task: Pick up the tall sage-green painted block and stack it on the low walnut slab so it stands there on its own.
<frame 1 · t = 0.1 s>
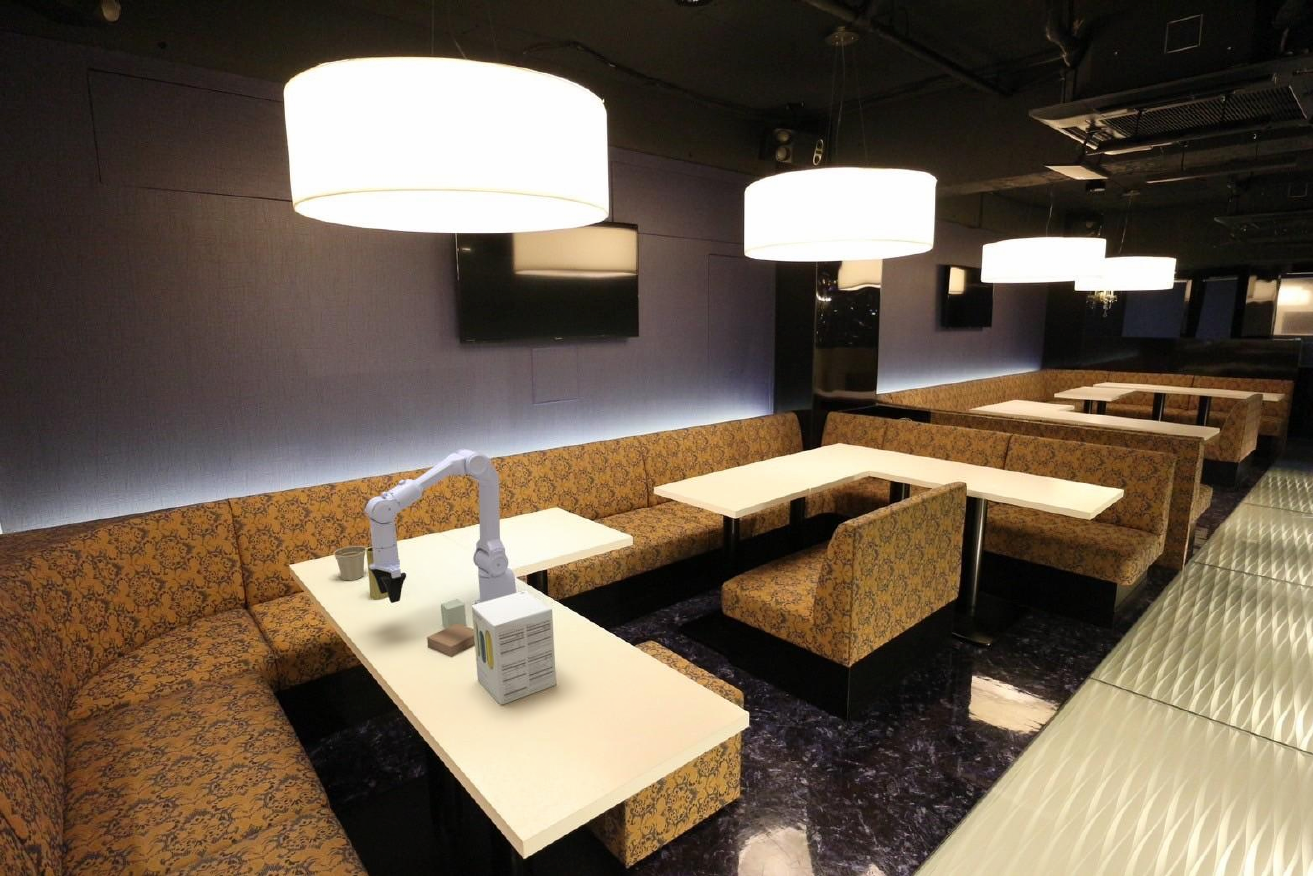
hand: (390, 597, 167), 10 cm above the table, fingers open, 7 cm apart
sage block: (454, 626, 173), on the table
supplement box: (516, 683, 145), on the table
vase: (381, 596, 194), on the table
walnut slab: (455, 646, 163), on the table
flower pot: (353, 577, 209), on the table
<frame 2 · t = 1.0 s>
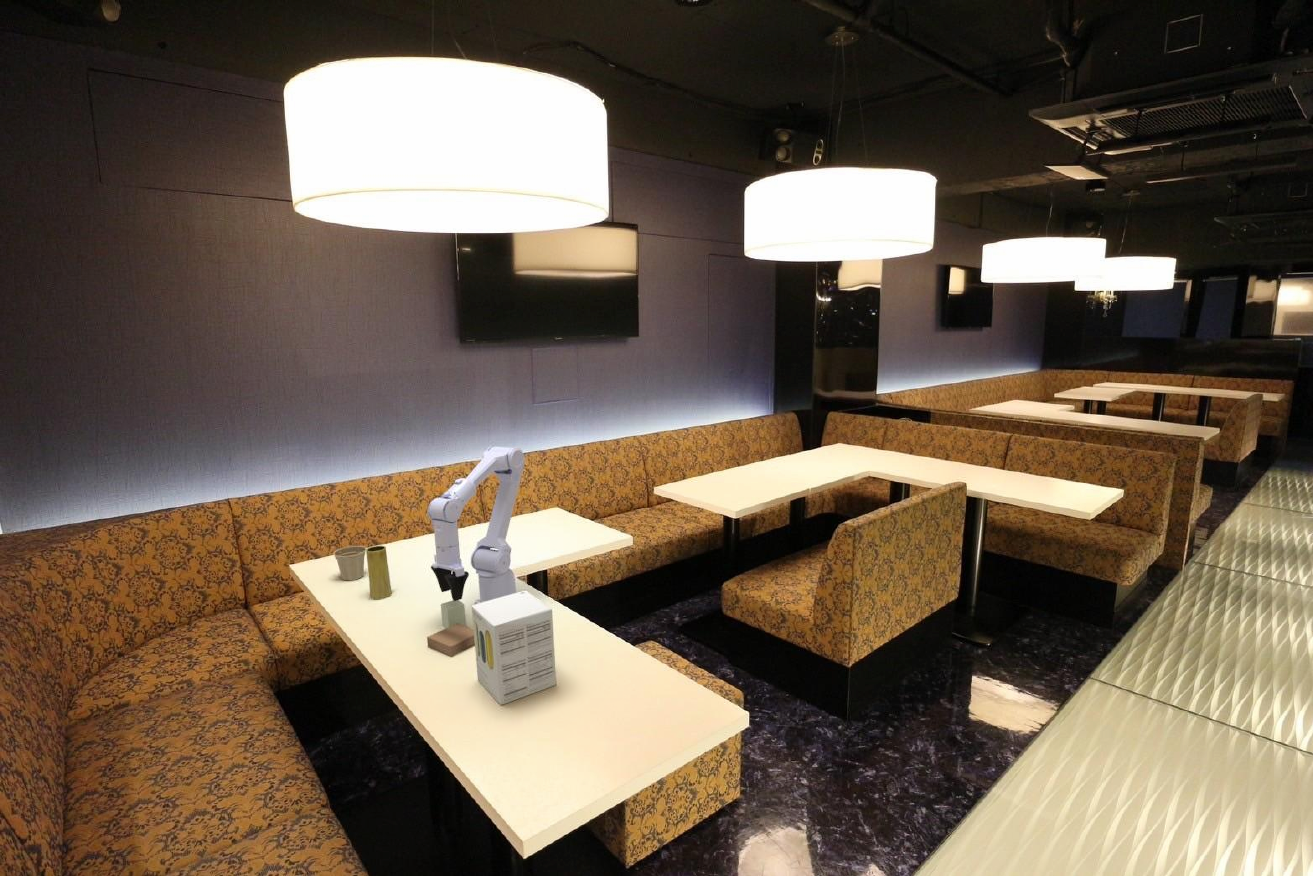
hand: (451, 595, 171), 8 cm above the table, fingers open, 7 cm apart
nothing on the table moved.
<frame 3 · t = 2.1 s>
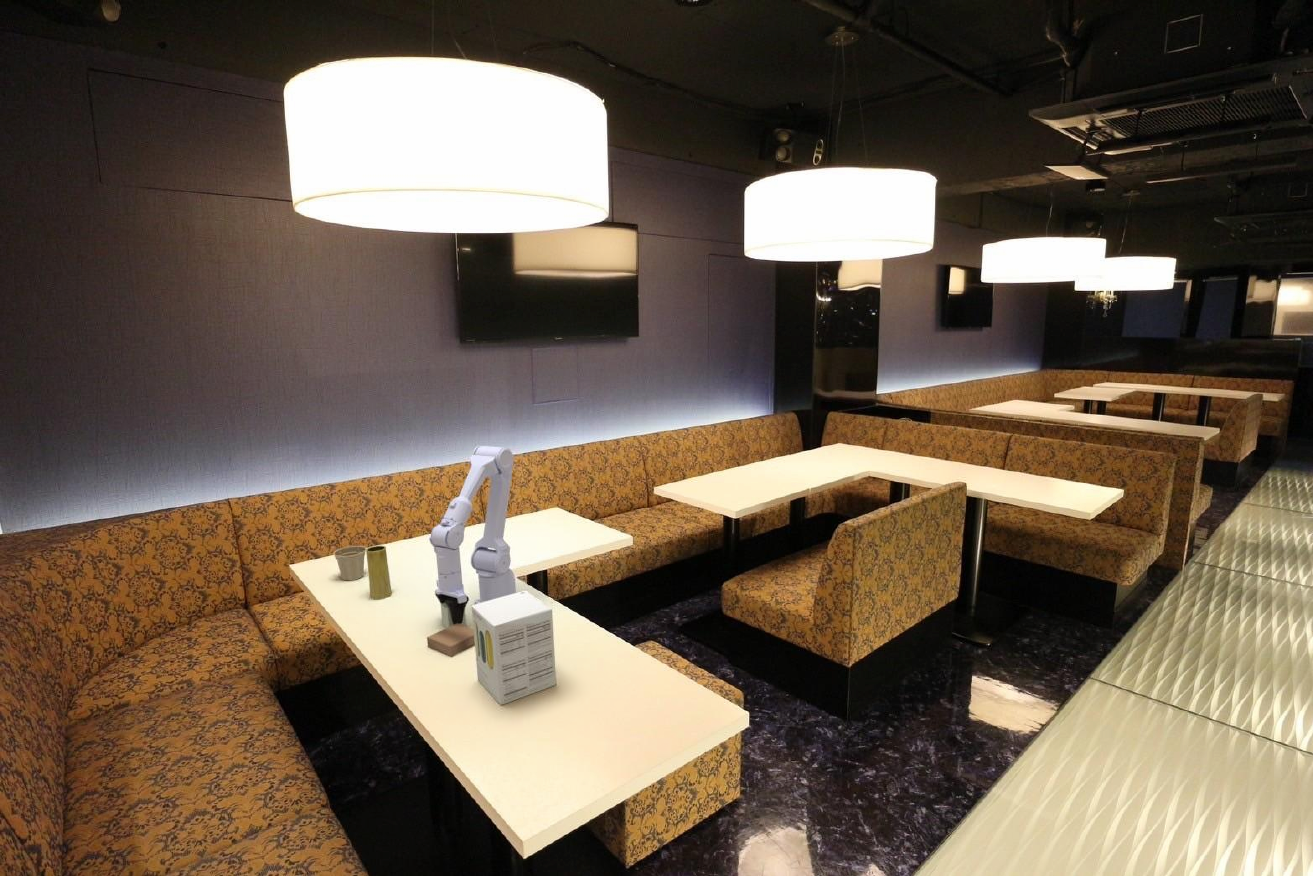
hand: (453, 620, 173), 1 cm above the table, fingers closed on sage block, 4 cm apart
sage block: (454, 625, 173), on the table, touching gripper
everything else where it was.
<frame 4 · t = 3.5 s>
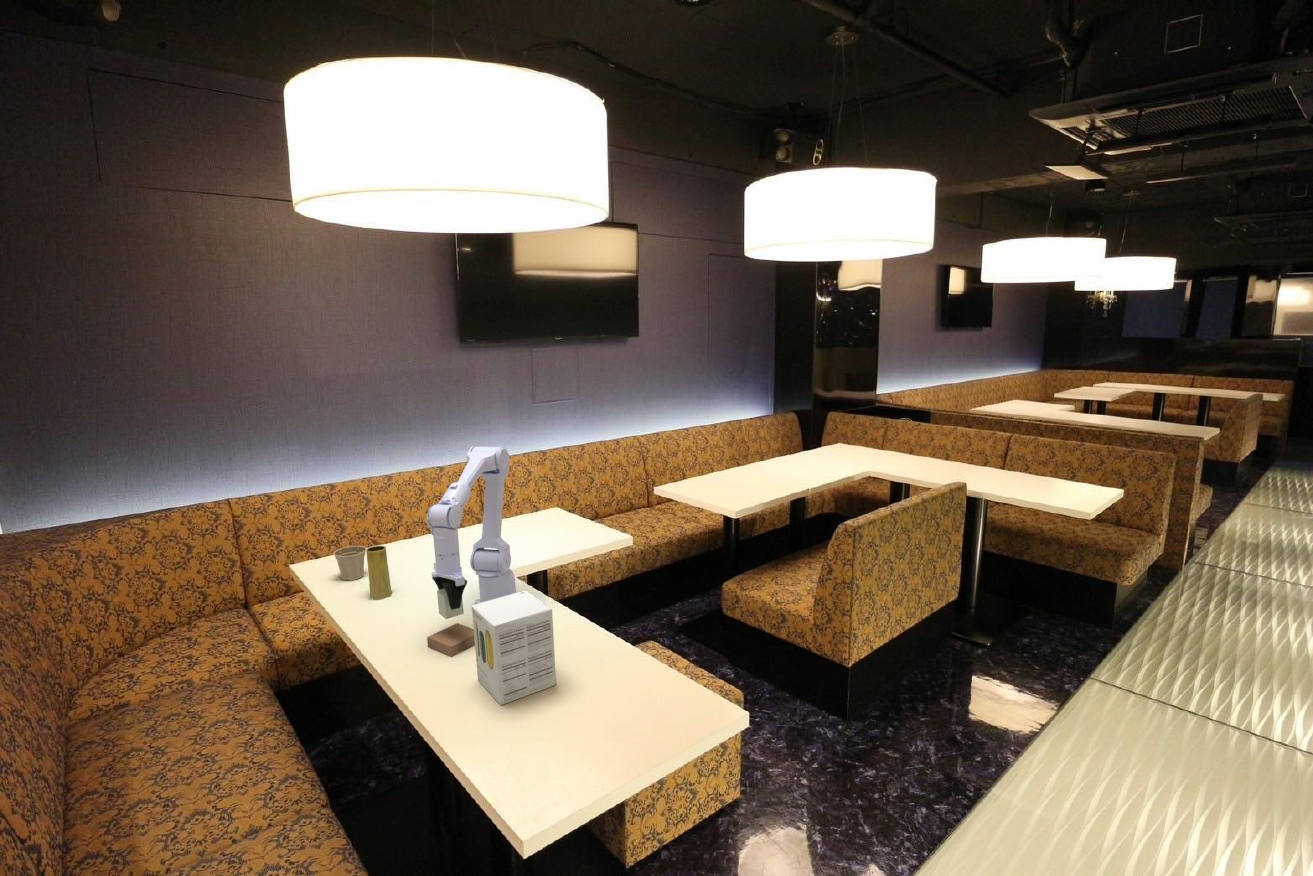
hand: (451, 605, 165), 9 cm above the table, fingers closed on sage block, 4 cm apart
sage block: (451, 613, 165), point 6 cm above the table, touching gripper
everything else where it was.
when the fingers open (6 cm above the table, at t = 4.7 s): sage block stays where it is, resting on walnut slab.
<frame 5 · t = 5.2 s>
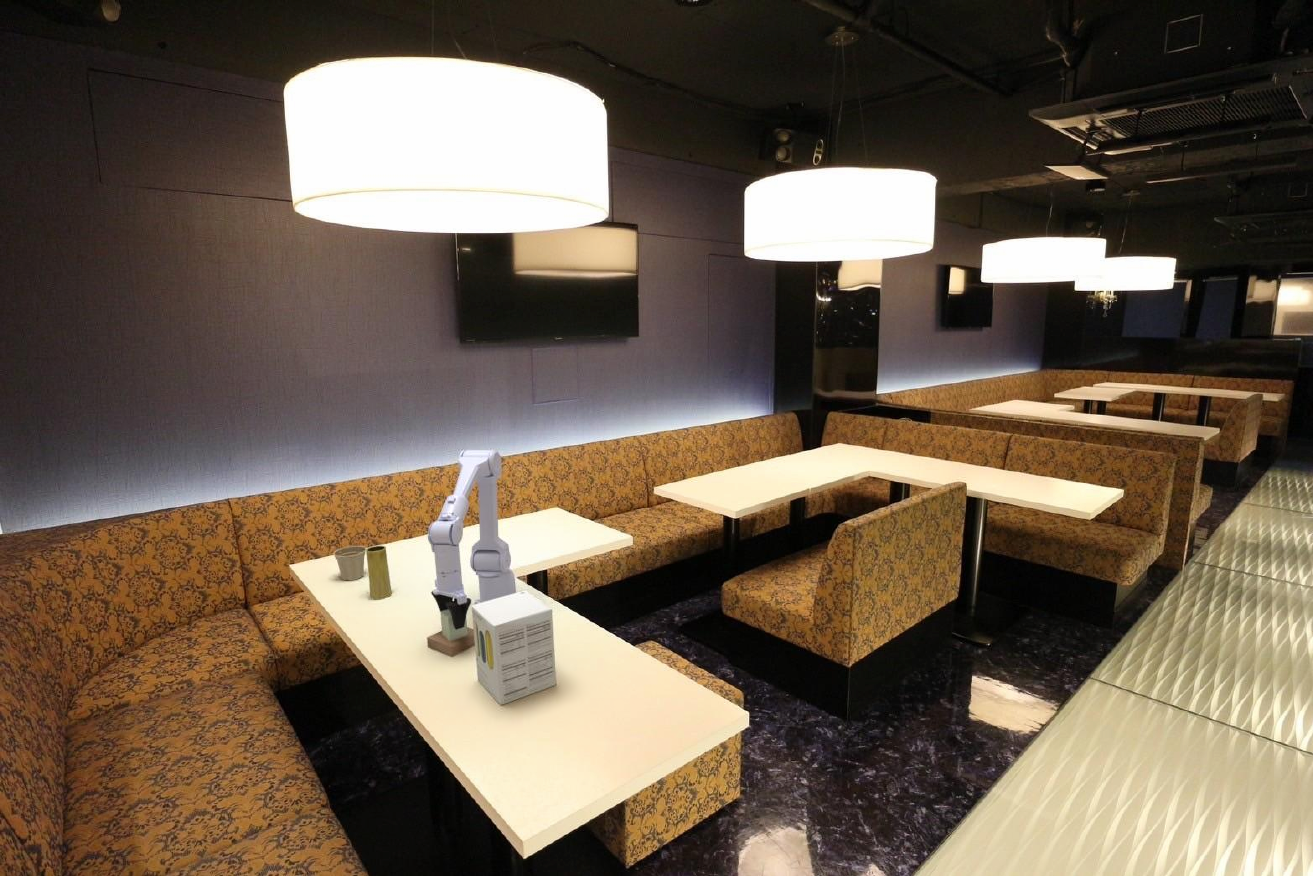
hand: (453, 622, 162), 6 cm above the table, fingers open, 7 cm apart
sage block: (454, 635, 162), point 2 cm above the table, touching walnut slab
walnut slab: (455, 646, 163), on the table, touching sage block
everything else where it was.
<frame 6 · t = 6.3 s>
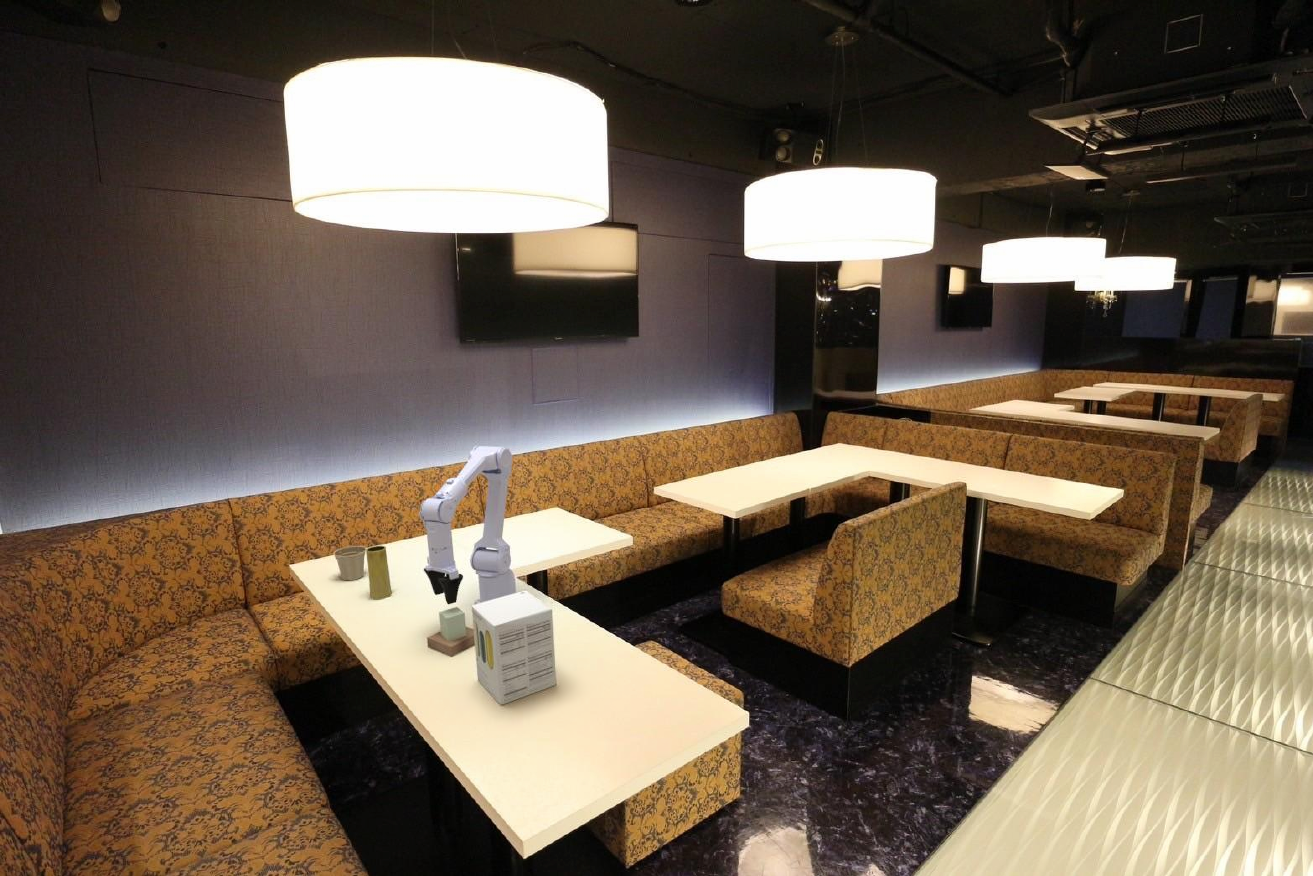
hand: (445, 598, 166), 10 cm above the table, fingers open, 7 cm apart
nothing on the table moved.
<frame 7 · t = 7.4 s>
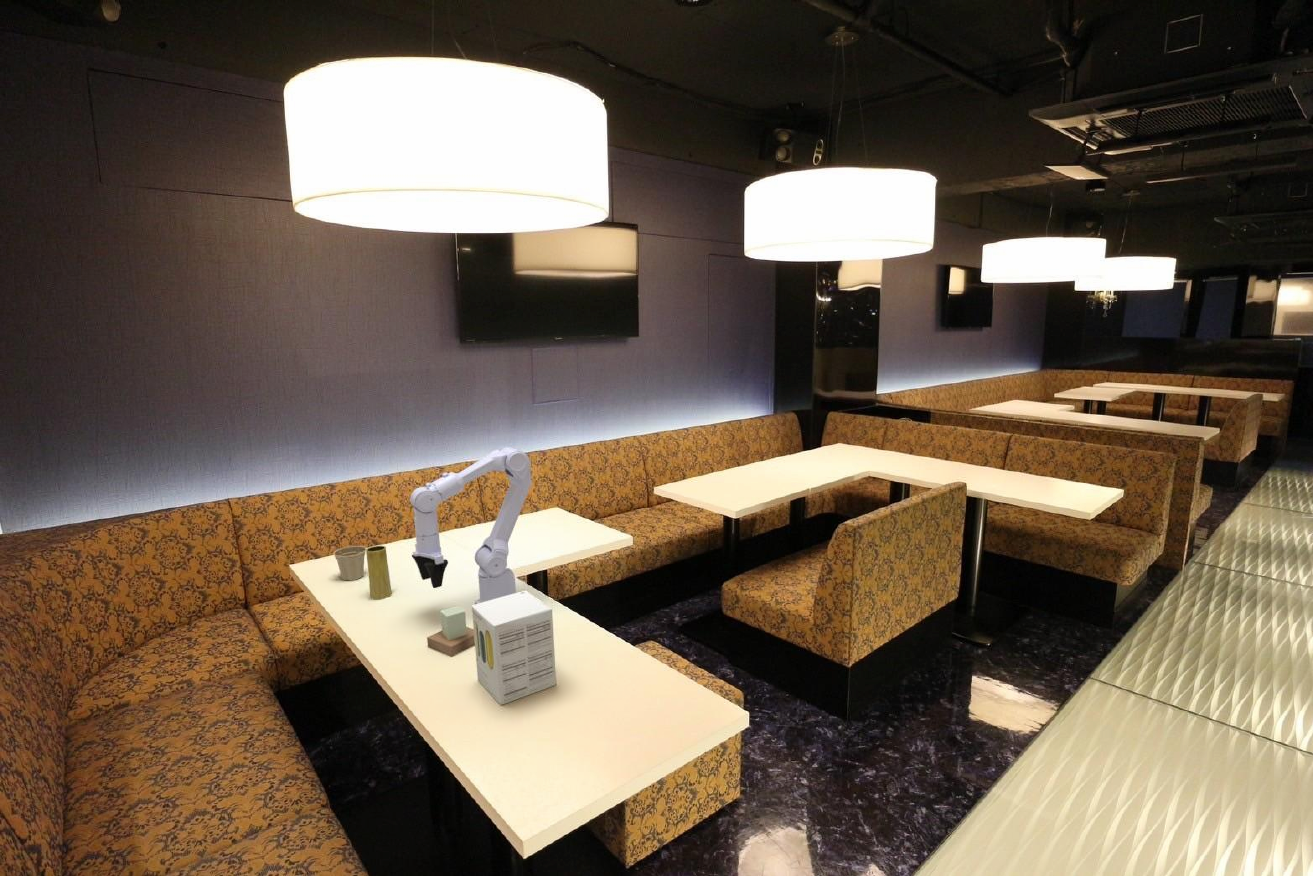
hand: (431, 582, 176), 10 cm above the table, fingers open, 7 cm apart
sage block: (454, 634, 162), point 2 cm above the table
walnut slab: (455, 646, 163), on the table
everything else where it was.
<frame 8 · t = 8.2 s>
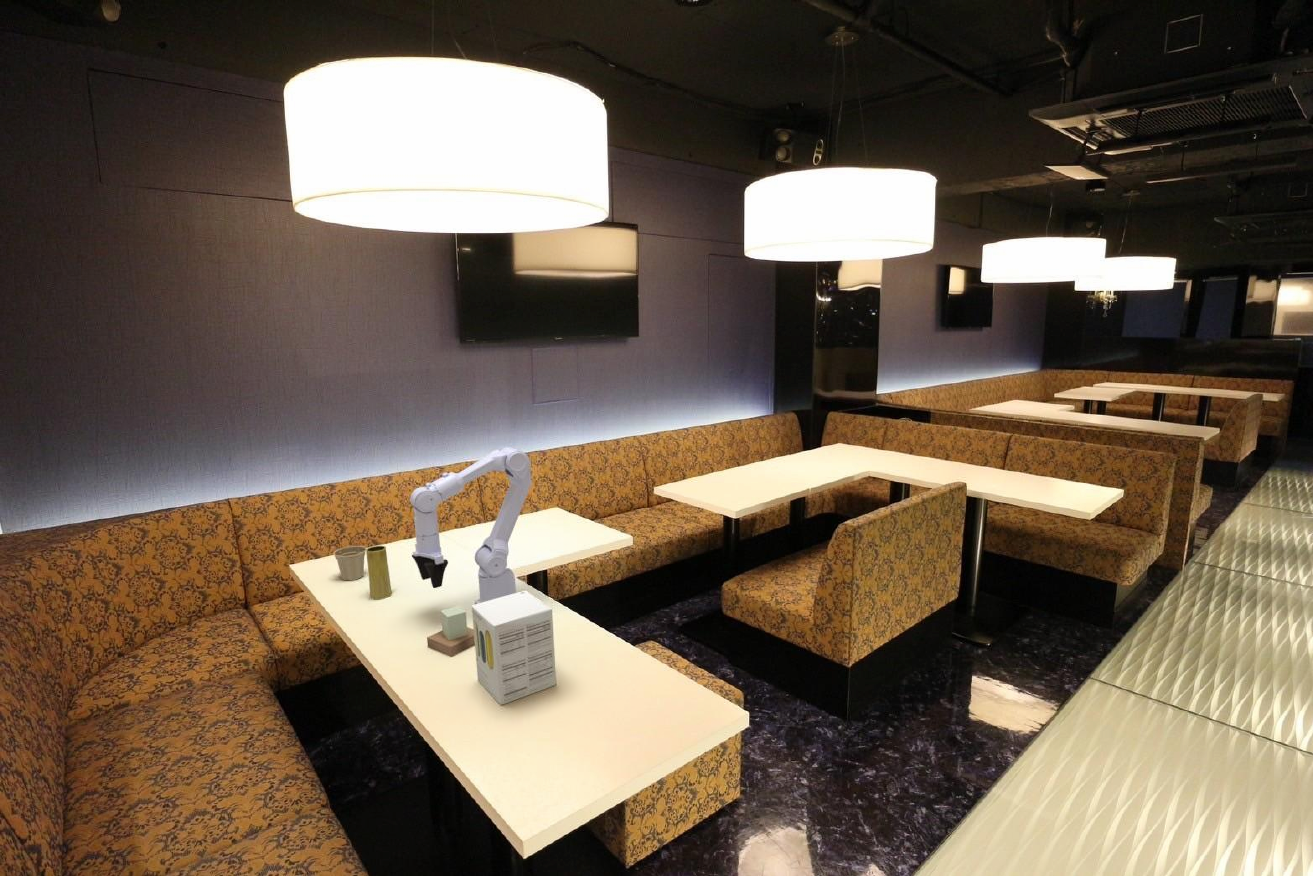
hand: (431, 582, 176), 10 cm above the table, fingers open, 7 cm apart
nothing on the table moved.
at the end: sage block inside the target area on the walnut slab (0.3 cm from its centre), point 3.0 cm above the walnut slab's base; sage block tilted 1°; sage block touching nothing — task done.
